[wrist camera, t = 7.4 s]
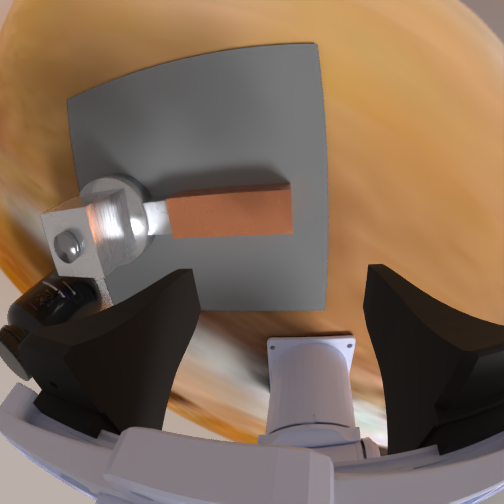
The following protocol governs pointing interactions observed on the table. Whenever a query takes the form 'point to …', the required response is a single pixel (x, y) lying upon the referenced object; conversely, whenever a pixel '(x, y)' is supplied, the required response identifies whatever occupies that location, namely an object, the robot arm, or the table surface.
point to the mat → (219, 167)
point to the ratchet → (201, 210)
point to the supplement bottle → (46, 312)
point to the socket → (90, 233)
